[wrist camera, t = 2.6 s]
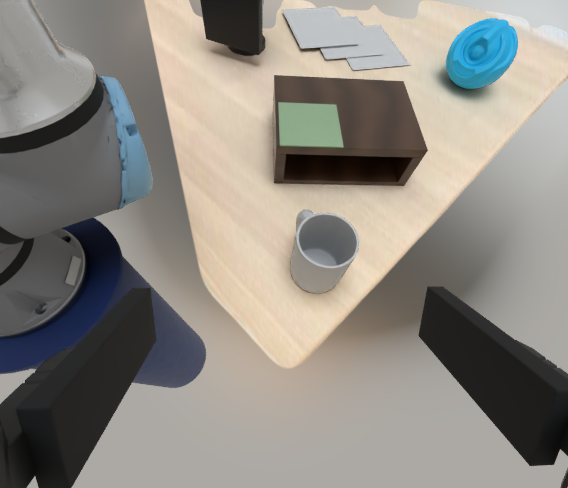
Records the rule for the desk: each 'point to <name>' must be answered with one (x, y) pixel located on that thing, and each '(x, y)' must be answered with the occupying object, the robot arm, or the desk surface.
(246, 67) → the desk surface
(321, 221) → the cup
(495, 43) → the blue rounded piece
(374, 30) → the paper stack
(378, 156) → the shelf
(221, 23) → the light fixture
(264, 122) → the desk surface
